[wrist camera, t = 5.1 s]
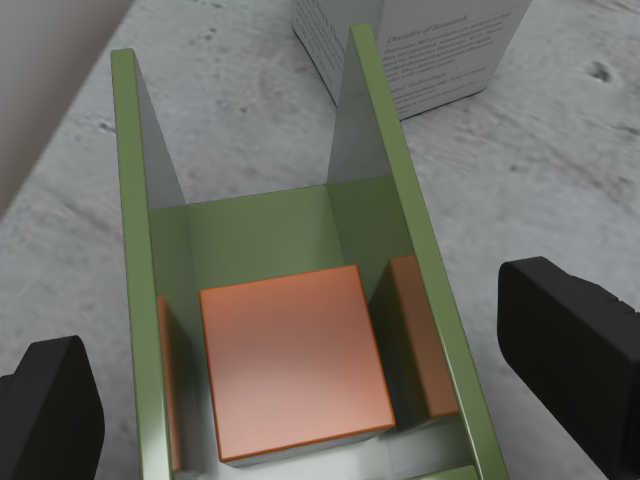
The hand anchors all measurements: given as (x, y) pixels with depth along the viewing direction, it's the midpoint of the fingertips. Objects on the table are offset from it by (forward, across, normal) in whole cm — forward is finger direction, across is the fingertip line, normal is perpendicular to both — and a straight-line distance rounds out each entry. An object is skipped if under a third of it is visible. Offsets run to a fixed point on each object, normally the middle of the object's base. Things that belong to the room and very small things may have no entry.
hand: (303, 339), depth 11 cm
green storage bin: (+6, 0, +4) cm, 7 cm away
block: (+5, 0, +4) cm, 7 cm away
